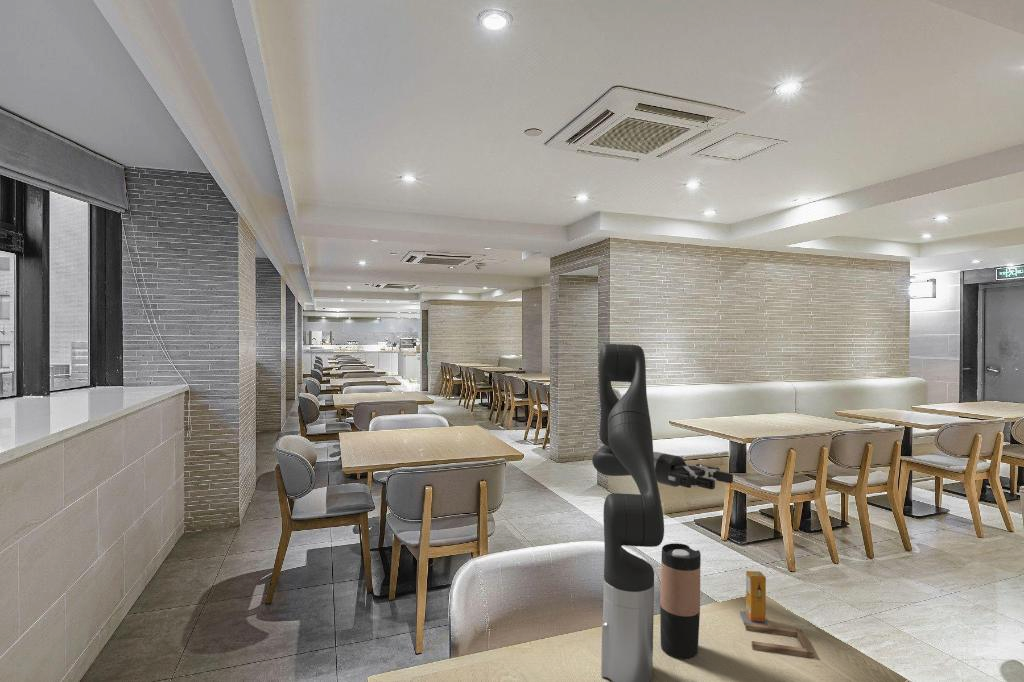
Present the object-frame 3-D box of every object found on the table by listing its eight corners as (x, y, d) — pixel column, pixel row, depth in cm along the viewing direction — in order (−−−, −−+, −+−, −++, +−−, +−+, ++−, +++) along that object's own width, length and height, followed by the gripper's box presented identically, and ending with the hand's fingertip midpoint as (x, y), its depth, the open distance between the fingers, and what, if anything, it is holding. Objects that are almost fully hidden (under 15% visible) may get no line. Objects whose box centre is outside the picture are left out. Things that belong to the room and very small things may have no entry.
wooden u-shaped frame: (752, 649, 108) (752, 644, 108) (744, 626, 116) (744, 622, 116) (813, 657, 105) (814, 652, 105) (801, 634, 114) (801, 629, 114)
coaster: (744, 625, 117) (744, 622, 117) (740, 613, 122) (740, 610, 122) (768, 628, 116) (769, 625, 116) (763, 616, 121) (763, 613, 121)
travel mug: (659, 657, 105) (661, 556, 105) (658, 635, 112) (660, 541, 112) (701, 663, 103) (703, 560, 103) (697, 641, 111) (699, 545, 110)
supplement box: (760, 614, 120) (761, 570, 120) (766, 623, 117) (767, 577, 117) (744, 613, 121) (746, 569, 120) (750, 622, 117) (751, 576, 117)
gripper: (646, 457, 131) (708, 470, 118) (677, 449, 140) (738, 461, 128) (645, 487, 131) (707, 504, 118) (677, 478, 140) (737, 492, 128)
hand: (723, 481), depth 123 cm, fingers open, 8 cm apart
